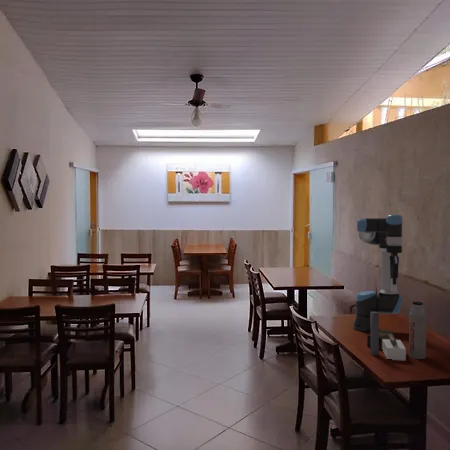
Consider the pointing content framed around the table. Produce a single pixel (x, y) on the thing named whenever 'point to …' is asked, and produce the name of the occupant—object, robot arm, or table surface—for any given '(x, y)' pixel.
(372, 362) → the table surface
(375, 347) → the post
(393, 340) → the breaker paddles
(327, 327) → the table surface
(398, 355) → the breaker box
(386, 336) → the beverage carton
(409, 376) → the table surface
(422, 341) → the thermos bottle
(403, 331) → the table surface
